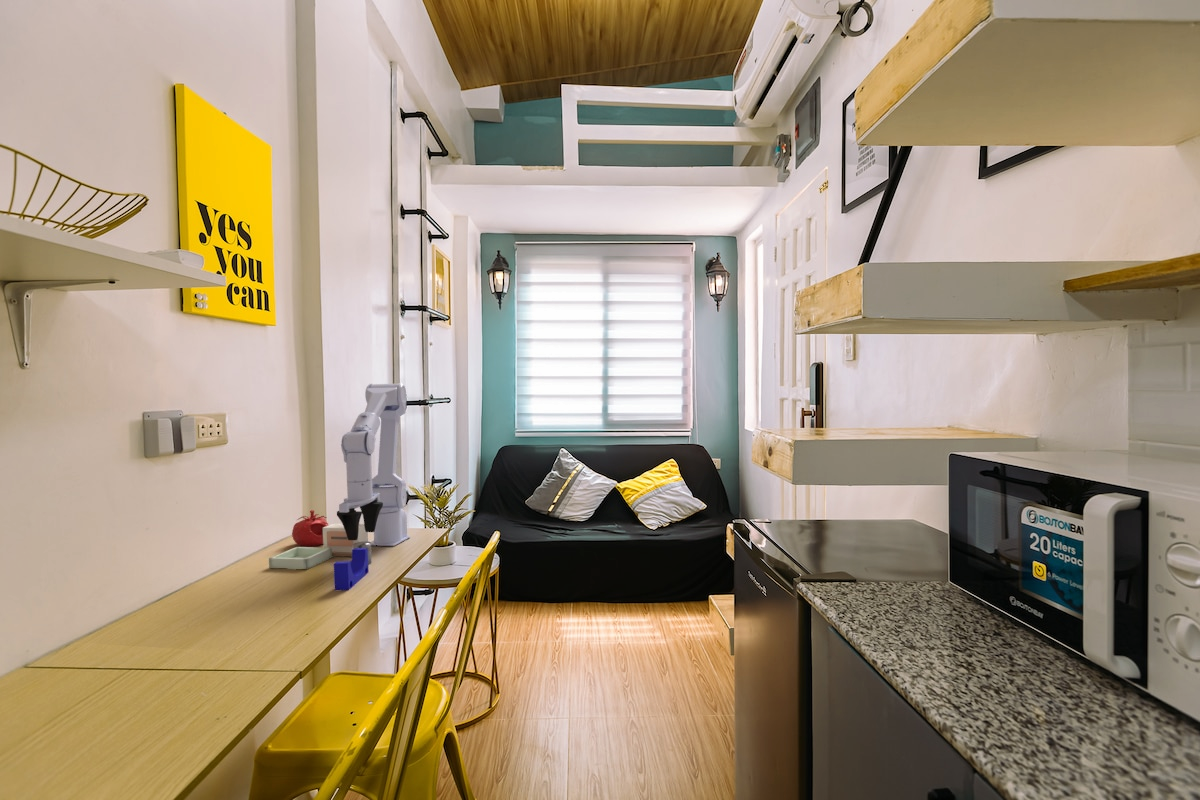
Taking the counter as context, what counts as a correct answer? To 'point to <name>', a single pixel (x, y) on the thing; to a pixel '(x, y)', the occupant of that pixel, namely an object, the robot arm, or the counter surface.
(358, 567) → the blue cradle block
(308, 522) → the pomegranate
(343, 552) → the mounted housing
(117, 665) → the counter surface
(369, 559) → the coupling
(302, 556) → the parts tray
